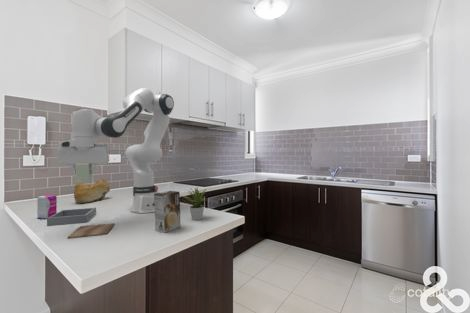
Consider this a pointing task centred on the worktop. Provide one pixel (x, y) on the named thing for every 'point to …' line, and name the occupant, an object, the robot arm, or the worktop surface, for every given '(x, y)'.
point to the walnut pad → (92, 230)
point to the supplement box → (46, 206)
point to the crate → (71, 216)
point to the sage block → (83, 172)
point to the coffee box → (167, 211)
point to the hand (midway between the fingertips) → (84, 173)
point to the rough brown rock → (91, 191)
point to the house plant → (196, 204)
